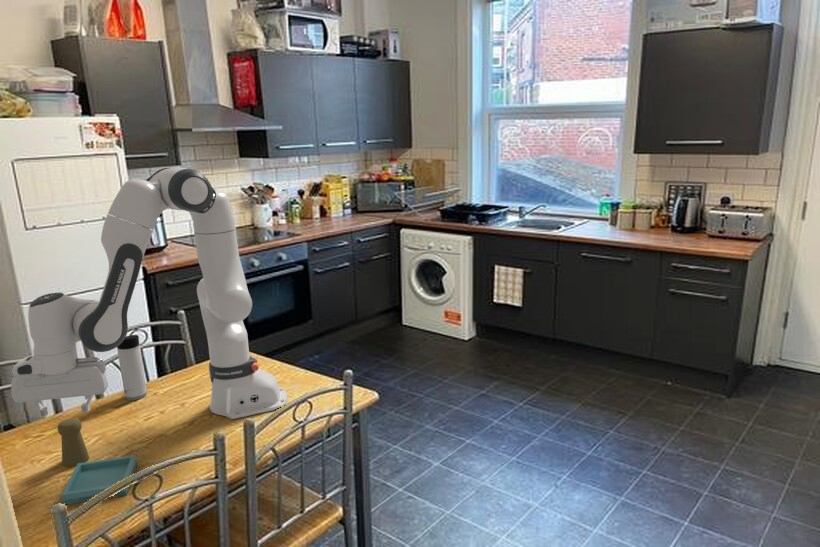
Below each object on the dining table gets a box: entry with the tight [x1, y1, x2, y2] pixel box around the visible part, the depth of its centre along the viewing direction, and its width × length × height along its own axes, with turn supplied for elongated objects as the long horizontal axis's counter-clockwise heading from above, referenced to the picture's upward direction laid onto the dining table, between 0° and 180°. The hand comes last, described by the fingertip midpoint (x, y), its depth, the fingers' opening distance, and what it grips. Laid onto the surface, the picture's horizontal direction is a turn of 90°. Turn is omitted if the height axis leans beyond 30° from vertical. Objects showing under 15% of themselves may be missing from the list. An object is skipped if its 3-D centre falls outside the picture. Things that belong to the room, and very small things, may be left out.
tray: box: [61, 454, 138, 505], centre depth 139 cm, size 13×13×3 cm
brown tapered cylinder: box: [57, 417, 90, 468], centre depth 148 cm, size 6×6×11 cm
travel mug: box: [116, 334, 148, 401], centre depth 181 cm, size 6×7×20 cm
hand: (65, 413), depth 146 cm, fingers open, 8 cm apart
